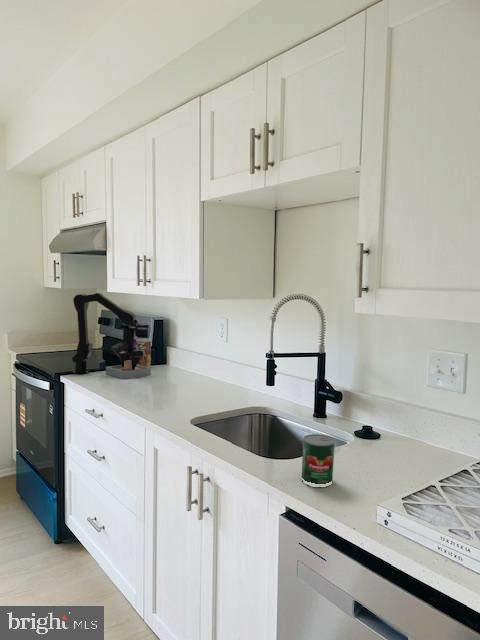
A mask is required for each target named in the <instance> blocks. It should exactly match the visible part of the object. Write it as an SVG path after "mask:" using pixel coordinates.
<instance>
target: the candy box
mask: <svg viewBox="0 0 480 640" xmlns="http://www.w3.org/2000/svg"><path fill="white" fill-rule="evenodd" d="M135 340H136V342H134V347H135V348H136V350H142V351H143V356H142V357H141V358H140V360H139V361H138V363H137V365H140V366H144V367H148V368H151V364H152V362H151V360H152V358H151V356H152V355H151V354H152V353H151V352H152V350H151V349H152V347H151V346H152V345H151V343H152V340H151V339H135Z"/></svg>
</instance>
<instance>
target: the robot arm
mask: <svg viewBox="0 0 480 640" xmlns="http://www.w3.org/2000/svg"><path fill="white" fill-rule="evenodd" d="M72 301H73V306H74V308H75V310H76V312H77V328H78V343H77V346H76V354H74V355H73V357H72V358H71V360H72V362H73V363H74V370H72V371H73V374H75V375H82V374H90V371H88V370H87V360H88V359H89V357H90V356H91V355H92V354H93V351H94V347H93V345H94V343H93V342H90V340H89V331H88V330H89V327H88V315H87V314H88V313H87V311H88V308H89V306H90V305H89V303H92V302H97V303H98V304H100V305H101V306H102V307H104V308H106V309H107V310H108V311H110V312H111V313H113V314H114V315H116V316H117V318H118V319H119V320H120V321H121V322H122V323H121V324H120V325H119V326H118V329H122V338H121V339H120V342H118V343H116V344H114V345H112V346H111V350H112V352H113V354H115V355H116V356H118V358H119V361H120V365H122V367H124V361H125V360H128V359H127V358H129V360H131V365H132V370H134V369H135V367H136V365H137V363H138V361H139V360H140V358H141V357H142V356H143V351H142V350H136V348H135V347H134V342H136V340H137V339H135V337H136V338H138V339H150V337H151V330H150V325H149V324H140V323H139V322H138V320H137V319H136V314H134V313H133V312H132V311H129V310H127V309H124V308H122V307H121V306H120V305H117V304H116V303H115V302H113V301H112V300H110V299H109V298H107V297H106V296H105V295H103V294H102V293H101V292H96V293H92V294H85V293H81V294H80V293H79V294H76V295H74V297H73V299H72Z"/></svg>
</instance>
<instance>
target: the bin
mask: <svg viewBox="0 0 480 640" xmlns="http://www.w3.org/2000/svg"><path fill="white" fill-rule="evenodd" d="M151 370H152V369H151V367H150V368H148V367H144V366H140V365H136V367H135V369H134V370H131V371H124V367H122V364H119V365H110V366H105V374H106V375H108V376H112V377H115V378H118V379H119V380H120V379H121V380H127V379H128V380H129V379H133V378H140V377H142V378H143V377H146V376H151Z"/></svg>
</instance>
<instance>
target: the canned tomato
mask: <svg viewBox="0 0 480 640" xmlns="http://www.w3.org/2000/svg"><path fill="white" fill-rule="evenodd" d="M302 439H303V442H302V443H303V444H302V457H301V458H302V459H301V462H302V463H301V465H302V466H301V478H303V479H304V480H305V481H307V482H311V483H315V484H326V483H329V482H331V481H332V482H333V478H334V477H333V476H334V475H333V474H334V462H335V461H334V458H335V456H334V455H335V443H336V441H335V440H336V439H334V438H333V437H332V436H328V435H325V434H321V433H320V434H318V433H315V434H307V435H305V436H303V438H302Z"/></svg>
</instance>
